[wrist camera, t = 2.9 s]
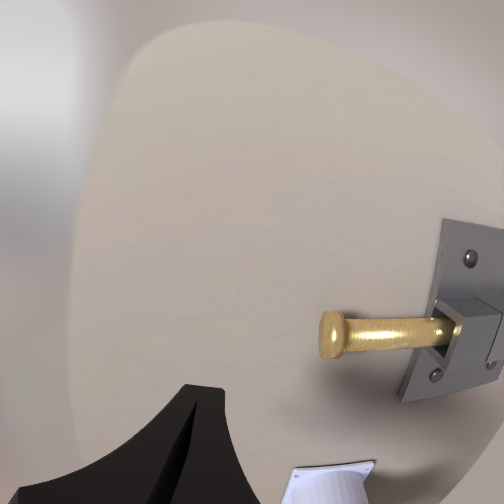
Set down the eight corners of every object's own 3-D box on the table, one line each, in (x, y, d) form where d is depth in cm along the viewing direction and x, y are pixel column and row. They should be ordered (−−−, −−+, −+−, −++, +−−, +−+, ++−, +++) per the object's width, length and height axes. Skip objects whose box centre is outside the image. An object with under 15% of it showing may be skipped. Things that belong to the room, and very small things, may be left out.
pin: (479, 334, 16) (498, 348, 13) (316, 343, 16) (324, 368, 14) (489, 302, 15) (509, 315, 13) (323, 303, 16) (333, 324, 13)
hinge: (492, 376, 18) (514, 397, 14) (397, 396, 18) (416, 429, 14) (533, 236, 15) (564, 245, 11) (442, 218, 15) (482, 226, 11)
